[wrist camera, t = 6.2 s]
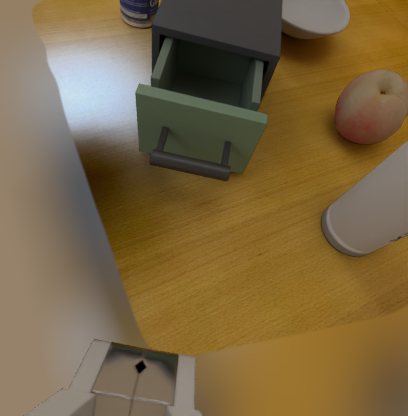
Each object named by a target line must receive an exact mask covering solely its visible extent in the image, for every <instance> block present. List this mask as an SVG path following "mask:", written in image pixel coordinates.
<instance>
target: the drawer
mask: <svg viewBox="0 0 408 416" xmlns="http://www.w3.org/2000/svg"><path fill="white" fill-rule="evenodd" d="M263 64H264V60H261V59H257V58H253V57H249V56H245V55H241V54H237V53H233V52H229V51H225V50H221V49H217V48H213V47H209V46H205V45H201V44H197V43H193V42H189V41H185V40H181V39H177V38H173V37H169V36H166V38H165V40H164V43H163V46H162V49H161V51H160V54H159V57H158V59H157V62H156V65H155V68H154V70H153V73H152V76H151V86H147V85H143V84H139V85H138V88H137V90H136V93H135V94H136V108H137V122H138V137H139V151H141V152H145V153H150V154H151V157H150V165H154V166H159V167H163V168H168V169H172V170H177V171H182V172H186V173H191V174H195V175H200V176H204V177H209V178H214V179H218V180H223V181H227V180H228V178H229V174H230V171H231V172H235V173H240V174H243V172H244V170H245V168H246V166H247V164H248V162H249V160H250V158H251V156H252V154H253V152H254V150H255V147H256V145H257V143H258V141H259V139H260V137H261V135H262V133H263V131H264V129H265V127H266V125H267V119H268V114H265V113H261V112H257V110H258V107H259V105H260V100H261V88H262V76H263Z"/></svg>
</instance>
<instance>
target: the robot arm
mask: <svg viewBox="0 0 408 416" xmlns="http://www.w3.org/2000/svg"><path fill="white" fill-rule="evenodd" d="M195 377H196V358H195V356H189V355H183V354H176V353H170V352H164V351H158V350H152V349H146V348H145V349H144V348H139V347H134V346H129V345H124V344H119V343H114V342H107V341H102V340H98V339H94V340H93V342H92V343H91V345H90V347H89V348H88V350H87V353H86V355H85V357H84V358H83V361H82V362H81V364H80V366H79V369H78V370H77V372H76V375H75V376H74V378H73V380H72V382H71V384H70V386H69V388H68V389H63V388H62V389H61V390H59V391H58V392H57V393H55V394H54V395H52V396H51V397H49V398H48V399H47V400H45V401H44V402H42V403H41V404H40V405H38V406H37V407H35V408H34V409H32V410H31V411H30V412H28V413H27V414H26V415H24V416H203V415H202V413H201V411H199V410H195V380H196V378H195Z"/></svg>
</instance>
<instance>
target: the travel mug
mask: <svg viewBox="0 0 408 416" xmlns="http://www.w3.org/2000/svg"><path fill="white" fill-rule="evenodd" d="M322 228H323V232H324V234H325V236H326V238H327V239H328V241H329V242H330V243H331V244H332V245H333V246H334V247H335V248H336V249H337V250H339V251H340V252H342V253H344V254H347V255H350V256H364V255H366V254H369V253H371V252H373V251H375V250H377V249H379V248H381V247H384V246H386V245H388V244H390V243H392V242H394V241H397V240H399V239H401V238H403V237H405V236H407V235H408V141H407V142H405V143H404V144H403V145H402V146H401V147H399V148H398V149H397V150H396V151H395V152H393V153H392V154H391V155H390V156H389V157H387V158H386V159H385V160H384V161H383V162H381V163H380V164H379V165H378V166H377V167H376V168H374V169H373V170H372V171H371V172H370V173H368V174H367V175H366V176H365V177H364V178H362V179H361V180H360V181H359V182H358V183H356V184H355V185H354V186H353V187H352V188H350V189H349V190H348V191H347V192H346V193H344V194H343V195H342V196H341V197H340V198H338V199H337V200H336V201H335V202H334V203H332V204H331V205H330V206H329V207H328V208H327V209H326V210H325V211H324V213H323V216H322Z"/></svg>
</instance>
